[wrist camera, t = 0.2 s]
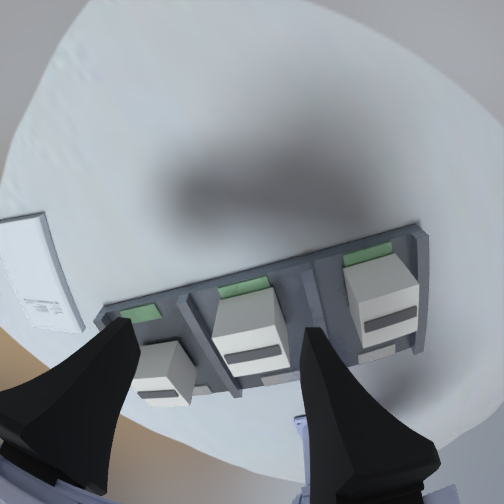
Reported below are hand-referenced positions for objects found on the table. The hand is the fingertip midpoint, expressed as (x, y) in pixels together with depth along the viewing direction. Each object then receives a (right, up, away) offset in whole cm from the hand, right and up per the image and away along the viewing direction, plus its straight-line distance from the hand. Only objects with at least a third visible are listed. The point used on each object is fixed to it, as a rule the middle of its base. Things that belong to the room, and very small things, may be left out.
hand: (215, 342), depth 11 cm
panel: (+3, -3, +13) cm, 13 cm away
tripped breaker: (-6, -6, +13) cm, 15 cm away
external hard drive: (-20, +2, +12) cm, 23 cm away
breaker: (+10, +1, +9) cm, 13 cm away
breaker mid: (+2, -1, +10) cm, 10 cm away
